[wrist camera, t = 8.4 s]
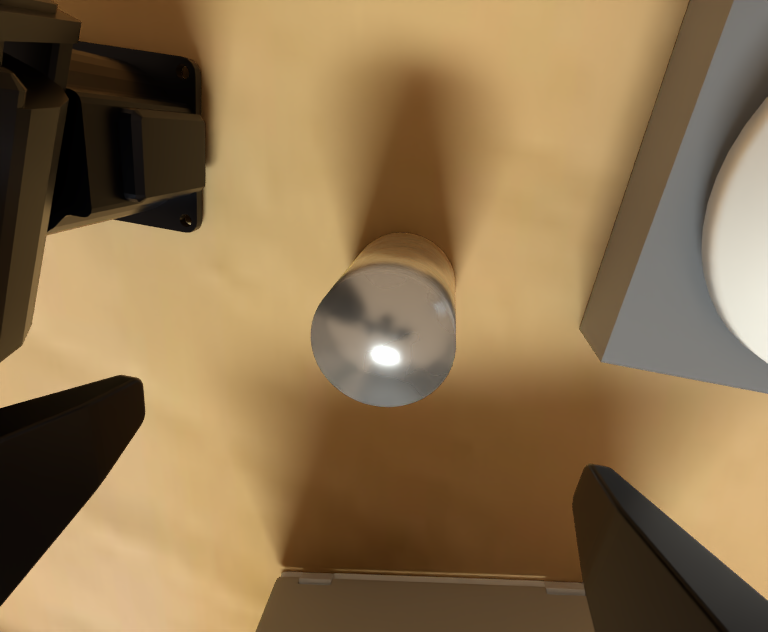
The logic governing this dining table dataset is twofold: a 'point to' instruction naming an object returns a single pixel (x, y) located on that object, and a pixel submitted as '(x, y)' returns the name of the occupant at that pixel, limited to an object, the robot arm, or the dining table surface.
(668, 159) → the base
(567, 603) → the laptop
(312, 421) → the dining table surface
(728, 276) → the pan
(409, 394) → the cylinder
